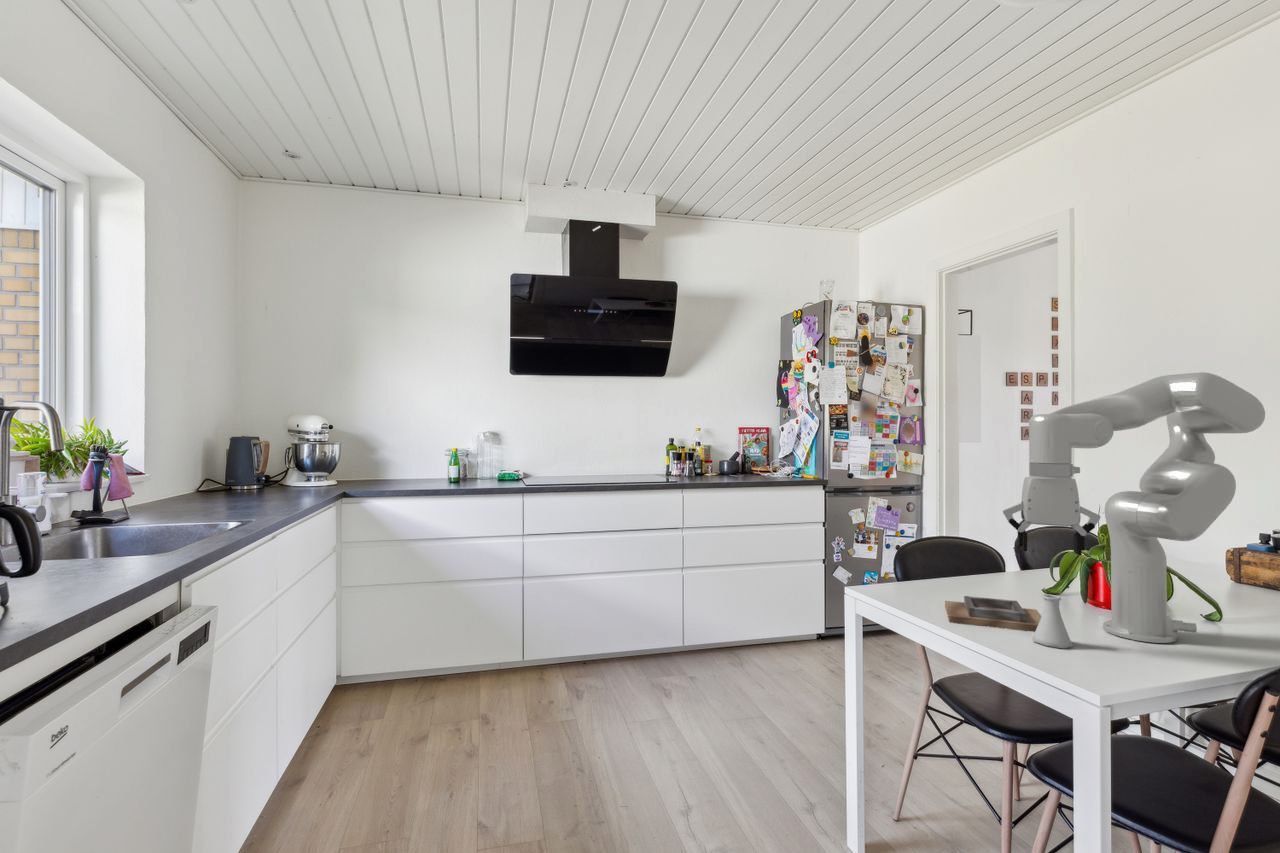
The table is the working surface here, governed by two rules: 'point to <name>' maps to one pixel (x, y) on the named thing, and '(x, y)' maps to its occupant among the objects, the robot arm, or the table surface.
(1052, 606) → the flask
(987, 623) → the walnut board
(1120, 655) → the table surface
